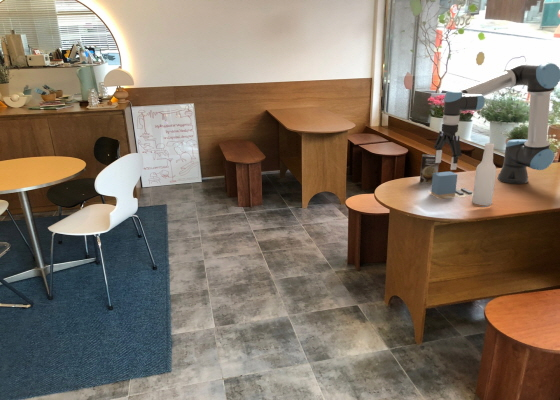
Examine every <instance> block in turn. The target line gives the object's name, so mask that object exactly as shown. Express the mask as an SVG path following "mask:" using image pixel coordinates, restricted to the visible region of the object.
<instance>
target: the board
mask: <svg viewBox="0 0 560 400" xmlns="http://www.w3.org/2000/svg"><path fill="white" fill-rule="evenodd" d="M464 188H465V189H467V190H469V189H468V188H466V187H464ZM456 189H457V190H459V191H461V187H460V188H456ZM469 191H471V192H472V194H467V193H465V192H463V191H461V192H463V193H464V195H459V194H457V193H455V195H454V196H444V197H436V196H434V195H433V194H431V190H430V191H427V193H428V194H430V195H431V196H433V197H435V198H437V199H438V200H444V199H446V200H447V199H453V198H454V199H456V198H466V197H473V191H472V190H469Z"/></svg>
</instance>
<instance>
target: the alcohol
mask: <svg viewBox="0 0 560 400" xmlns="http://www.w3.org/2000/svg"><path fill="white" fill-rule="evenodd" d="M494 148H495V143H493V142H492V143H491V142H486V143H485V144H484V150H483V155H482V160H481V162H480V163H479V164H477V166H476V169H475V174H474V175H475V176H474V183H473V184H474V185H473V191H472V192H473V196H472V199H471V200H472V201H471V202H472V203H473V204H475V205H479V206H478V207H479V208H489V207H490V206H491V205H492V203H493V197H494V190H495V183H496V177H497V167H496V165H495V164H494Z"/></svg>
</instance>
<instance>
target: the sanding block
mask: <svg viewBox="0 0 560 400" xmlns="http://www.w3.org/2000/svg"><path fill="white" fill-rule="evenodd" d="M457 182H458V174H457V173H456V172H453V171H452V170H450V171H442V172H441V171H440V172H439V171H438V173H433V178H432V183H431V189H430V191H431V194H430V195H432V194H433V195H434V196H433V195H432V196H433V197H435V196H436V197H435V198H437V197H444V196H454V195H455V192H456V189H457Z"/></svg>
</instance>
